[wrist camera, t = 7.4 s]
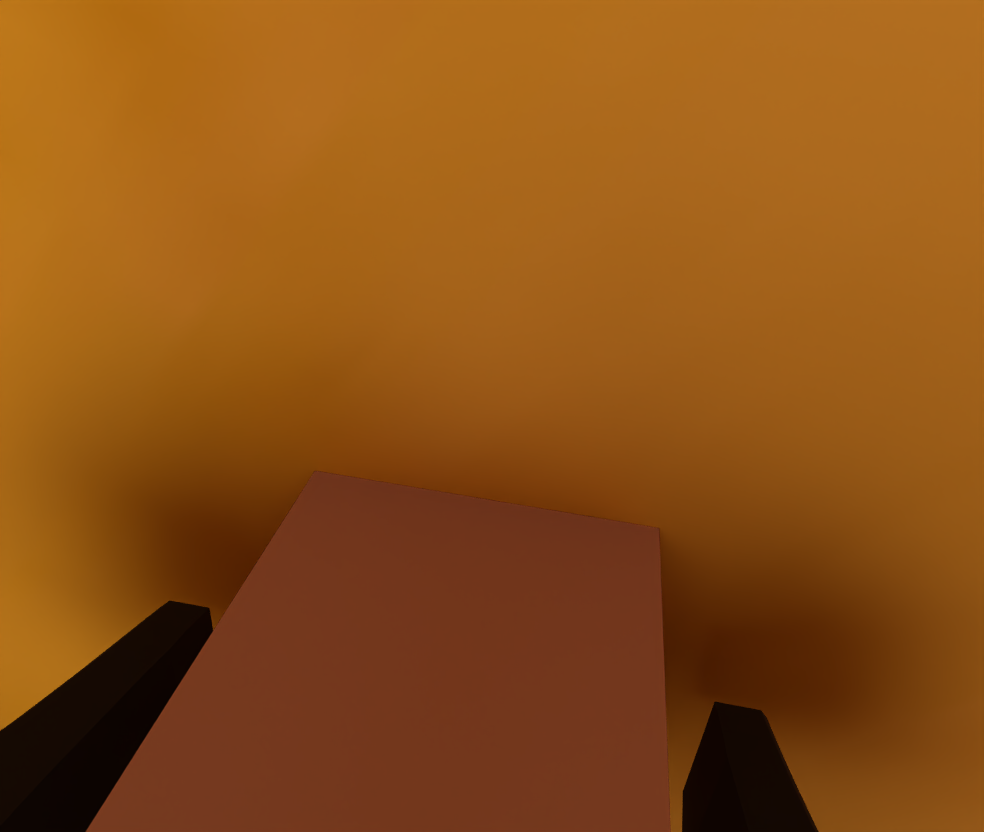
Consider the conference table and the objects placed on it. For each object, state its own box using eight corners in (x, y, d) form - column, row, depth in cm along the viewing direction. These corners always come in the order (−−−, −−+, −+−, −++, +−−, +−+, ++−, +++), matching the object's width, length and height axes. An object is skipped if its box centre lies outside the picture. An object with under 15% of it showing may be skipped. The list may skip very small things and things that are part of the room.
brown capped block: (659, 526, 11) (679, 1073, 5) (603, 747, 13) (580, 1262, 8) (315, 469, 11) (30, 920, 6) (327, 693, 14) (135, 1146, 9)
